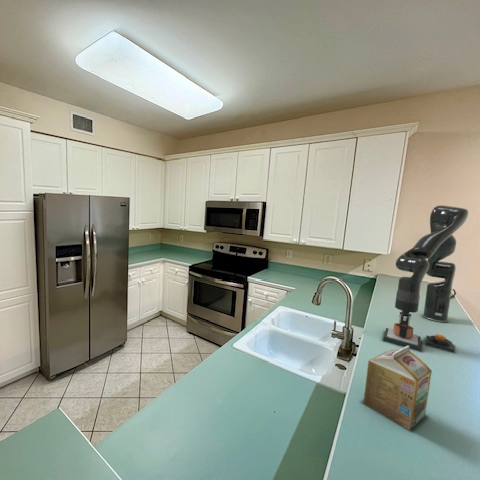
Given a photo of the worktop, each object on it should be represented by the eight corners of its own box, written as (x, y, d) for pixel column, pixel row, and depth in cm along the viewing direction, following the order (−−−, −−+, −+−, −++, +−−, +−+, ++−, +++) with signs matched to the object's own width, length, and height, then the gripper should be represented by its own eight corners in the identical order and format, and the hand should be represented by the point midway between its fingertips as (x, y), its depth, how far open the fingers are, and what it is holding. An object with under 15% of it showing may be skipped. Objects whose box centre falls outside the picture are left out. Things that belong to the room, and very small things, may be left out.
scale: (385, 331, 125) (386, 326, 125) (420, 340, 116) (420, 335, 116) (383, 341, 115) (383, 335, 115) (420, 351, 107) (421, 346, 106)
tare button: (434, 337, 115) (435, 333, 114) (444, 339, 112) (445, 335, 112) (435, 339, 113) (435, 335, 112) (445, 341, 110) (445, 338, 110)
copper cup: (393, 331, 120) (394, 321, 120) (412, 335, 115) (413, 326, 115) (392, 335, 116) (393, 325, 115) (412, 340, 111) (413, 330, 111)
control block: (426, 338, 119) (426, 332, 119) (451, 344, 113) (452, 338, 113) (426, 345, 112) (427, 339, 112) (453, 352, 106) (454, 346, 106)
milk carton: (409, 430, 67) (419, 364, 65) (363, 403, 76) (370, 344, 74) (424, 416, 72) (434, 354, 70) (379, 392, 81) (386, 337, 79)
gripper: (419, 305, 106) (414, 342, 108) (418, 298, 116) (414, 332, 118) (395, 301, 111) (390, 336, 113) (396, 294, 121) (392, 326, 123)
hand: (402, 334), depth 115 cm, fingers open, 7 cm apart
